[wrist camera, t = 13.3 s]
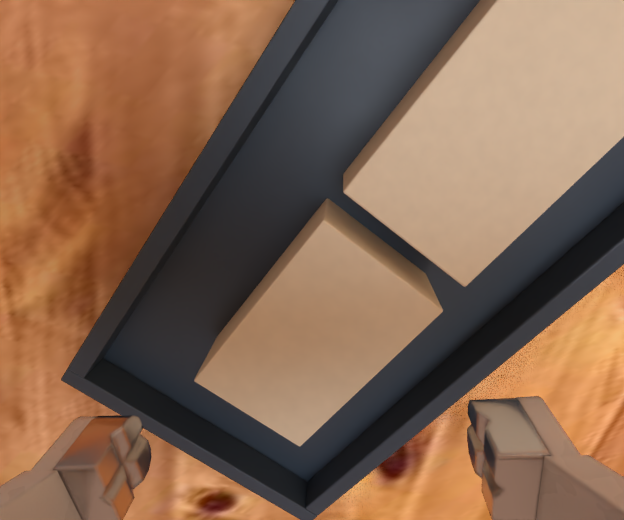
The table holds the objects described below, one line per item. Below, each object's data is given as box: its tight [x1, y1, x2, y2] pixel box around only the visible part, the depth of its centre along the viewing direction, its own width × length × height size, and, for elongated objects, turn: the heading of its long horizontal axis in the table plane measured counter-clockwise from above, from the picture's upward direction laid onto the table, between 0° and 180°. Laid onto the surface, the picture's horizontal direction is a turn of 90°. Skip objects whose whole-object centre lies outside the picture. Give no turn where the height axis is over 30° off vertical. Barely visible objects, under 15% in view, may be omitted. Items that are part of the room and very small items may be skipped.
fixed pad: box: [343, 0, 624, 287], centre depth 12 cm, size 5×8×3 cm, turn 143°
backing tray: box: [61, 0, 624, 520], centre depth 15 cm, size 24×14×2 cm, turn 143°
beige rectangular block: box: [194, 198, 443, 446], centre depth 15 cm, size 5×8×3 cm, turn 143°
